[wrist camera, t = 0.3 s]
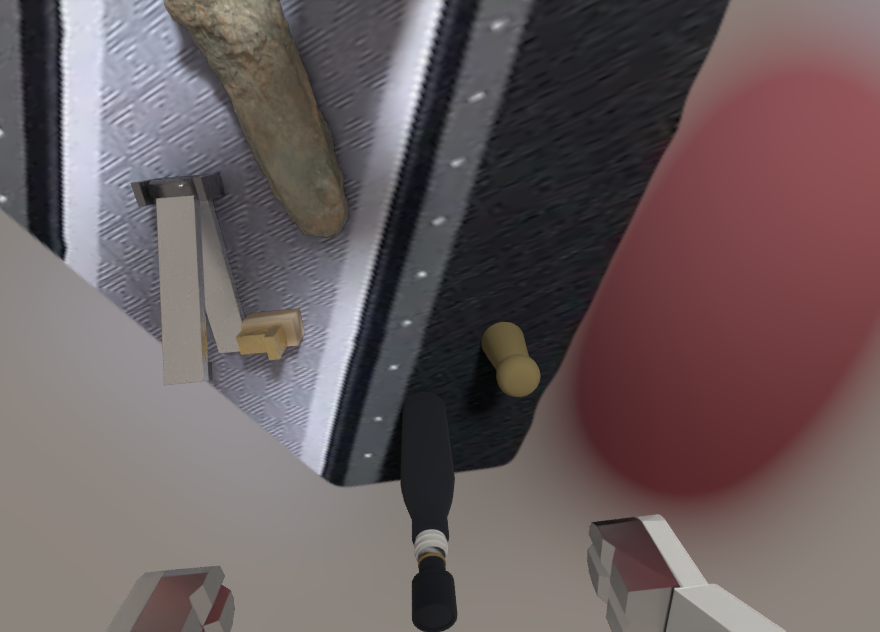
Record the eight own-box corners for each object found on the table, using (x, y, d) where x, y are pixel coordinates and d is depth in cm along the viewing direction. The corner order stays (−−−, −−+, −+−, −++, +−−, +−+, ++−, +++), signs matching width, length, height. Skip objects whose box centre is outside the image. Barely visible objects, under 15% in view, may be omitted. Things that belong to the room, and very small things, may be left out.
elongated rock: (297, 244, 55) (370, 217, 55) (289, 256, 50) (370, 226, 50) (122, -106, 39) (223, -145, 39) (87, -136, 35) (202, -181, 35)
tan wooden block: (249, 313, 56) (239, 324, 53) (299, 308, 56) (292, 319, 53) (256, 337, 58) (247, 350, 54) (304, 333, 58) (298, 345, 55)
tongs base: (155, 178, 49) (130, 182, 45) (219, 173, 49) (200, 177, 45) (211, 350, 58) (194, 368, 54) (264, 345, 58) (252, 362, 54)
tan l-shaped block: (241, 327, 53) (229, 340, 49) (282, 323, 53) (273, 336, 50) (247, 349, 54) (236, 363, 51) (287, 345, 54) (279, 359, 51)
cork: (490, 367, 62) (506, 412, 52) (474, 332, 60) (487, 373, 49) (530, 350, 61) (553, 392, 51) (515, 314, 59) (536, 352, 49)
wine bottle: (425, 383, 62) (438, 582, 35) (454, 410, 64) (487, 617, 37) (393, 409, 63) (380, 620, 36) (422, 434, 66) (431, 652, 38)
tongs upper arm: (162, 185, 48) (147, 176, 46) (205, 182, 48) (193, 172, 46) (171, 384, 46) (156, 386, 44) (216, 379, 47) (204, 381, 44)
